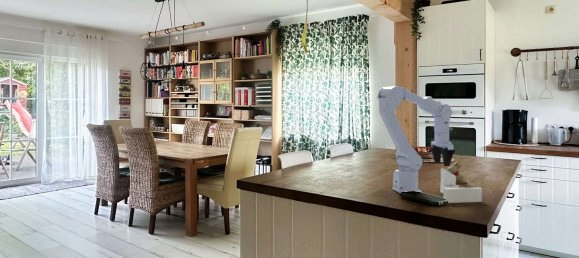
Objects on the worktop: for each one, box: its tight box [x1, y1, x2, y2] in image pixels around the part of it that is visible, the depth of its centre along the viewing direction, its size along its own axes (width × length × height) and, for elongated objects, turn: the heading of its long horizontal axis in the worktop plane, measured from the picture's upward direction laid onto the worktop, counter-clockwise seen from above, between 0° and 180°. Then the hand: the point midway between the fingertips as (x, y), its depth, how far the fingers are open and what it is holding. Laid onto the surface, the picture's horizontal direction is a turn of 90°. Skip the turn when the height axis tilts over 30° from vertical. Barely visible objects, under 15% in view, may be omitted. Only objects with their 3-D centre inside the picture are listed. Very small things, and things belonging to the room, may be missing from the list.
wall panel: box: [442, 186, 483, 204], centre depth 138 cm, size 14×2×5 cm, turn 97°
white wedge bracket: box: [439, 167, 460, 194], centre depth 151 cm, size 4×10×9 cm, turn 105°
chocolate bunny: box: [446, 160, 468, 184], centre depth 173 cm, size 6×8×10 cm
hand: (442, 164), depth 159 cm, fingers open, 7 cm apart
